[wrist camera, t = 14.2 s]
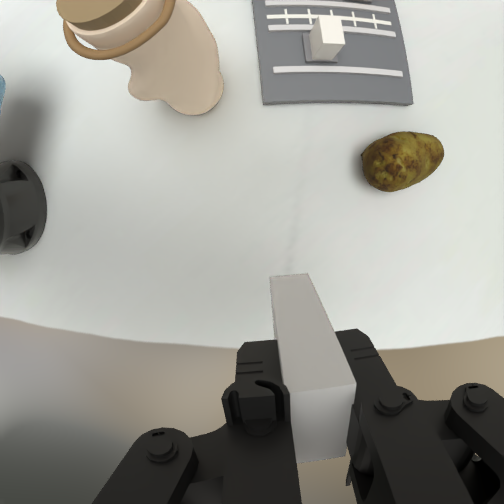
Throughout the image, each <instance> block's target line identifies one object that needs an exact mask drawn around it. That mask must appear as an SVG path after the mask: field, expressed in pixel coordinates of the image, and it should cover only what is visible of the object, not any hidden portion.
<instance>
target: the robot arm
mask: <svg viewBox="0 0 504 504" xmlns="http://www.w3.org/2000/svg"><path fill="white" fill-rule="evenodd" d="M5 89H6V84H5V80H4V78H3V77H2V76H1V75H0V108H1V104H2V100H3V96H4V93H5ZM0 114H1V110H0ZM45 221H46V199H45V194H44V190H43V187H42V184H41V182H40V180H39V178H38V176H37V174H36V173H35V172H34V170H33V169H32V168H31V167H30V166H29V165H27V164H26V163H24V162H21V161H6V162H2V163H0V254H10V255H13V254H19V253H22V252H24V251H26V250H28V249H30V248H31V247H33V246H34V245H35V244H36V243H37V241H38V240H39V238H40V237H41V234H42V232H43V229H44V226H45ZM270 288H271V301H272V313H273V326H274V339H275V340H266V341H254V342H244V344H243V345H242V346H241V348H240V349H239V350H238V352H237V362H236V363H237V365H236V376H235V382H234V383H232V384H231V385H230V386H229V387H228V388H227V389H226V390H225V391H224V394H223V396H222V398H221V399H222V404H223V408H224V413H225V417H226V422H227V423H226V424H224V425H223V426H222V427H221V428H219V429H217V430H216V431H213V432H210V433H207V434H204V435H199V436H195V437H191V438H189V437H188V436H187V435H186V434H185V433H184V432H182V431H179V430H177V429H174V428H159V429H153V430H151V431H148V432H146V433H144V434H142V435H141V436H140V437H139V438H138V439H137V440H136V441H135V442H134V444H133V445H132V447H131V448H130V449H129V451H128V452H127V454H126V455H125V457H124V458H123V460H122V461H121V462H120V464H119V465H118V467H117V468H116V470H115V471H114V472H113V474H112V475H111V477H110V479H109V480H108V481H107V483H106V484H105V485H104V487H103V488H102V490H101V491H100V493H99V494H98V496H97V497H96V498H95V500H94V501H93V503H92V504H302V502H301V494H300V487H299V478H298V470H297V463H304V462H311V461H319V460H325V459H331V458H337V457H343V456H345V454H346V449H347V447H348V450H349V454H350V457H351V460H350V465H349V469H348V473H347V477H346V486H349V485H350V483H351V481H352V485H353V489H354V493H355V497H356V501H357V504H504V398H503V397H502V396H500V395H499V394H498V393H496V392H495V391H494V390H493V389H491V388H489V387H487V386H486V385H483V384H478V383H466V384H464V385H461V386H459V387H458V388H456V389H455V390H454V391H453V393H452V396H451V398H450V400H442V401H440V400H439V401H424V400H418V399H417V398H416V396H415V395H414V394H413V393H412V392H411V391H409V390H407V389H405V388H403V387H400V386H397V385H396V384H395V382H394V380H393V378H392V377H391V375H390V373H389V371H388V369H387V368H386V366H385V364H384V362H383V361H382V359H381V357H380V356H379V354H378V352H377V350H376V349H375V348H374V345H373V344H372V342H371V340H370V338H369V337H368V336H367V335H366V334H364V333H363V332H361V331H360V330H358V329H351V330H344V331H337V332H334V330H333V327H332V325H331V323H330V321H329V318H328V316H327V314H326V312H325V309H324V307H323V305H322V303H321V301H320V298H319V296H318V294H317V292H316V290H315V287H314V285H313V283H312V281H311V279H310V277H309V274H308V273H306V274H296V275H285V276H275V277H270ZM475 453H476V454H477V455H478V456H479V457H478V456H477V455H475Z"/></svg>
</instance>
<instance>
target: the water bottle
mask: <svg viewBox="0 0 504 504" xmlns="http://www.w3.org/2000/svg"><path fill="white" fill-rule="evenodd" d="M56 6H57V11H58V13H59V15H60V16H61V17H62V18H63V19H64V20H63V30H64V35H65V39H66V41H67V44H68V45H69V47H70V48H71V49H72V50H73V51H74V52H75V53H77V54H78V55H80V56H82V57H85V58H88V59H93V60H107V59H112V60H114V61H116V62H119V63H122V64H125V65H127V66H129V67H130V69H131V78H130V81H129V83H128V90H129V93H130V94H131V95H132V96H133V97H135V98H136V99H139V100H142V101H150V100H163V101H165V102H166V103H167V104H169V105H170V106H171V107H172V108H173V109H175V110H176V111H178V112H180V113H182V114H186V115H200V114H203V113H205V112H207V111H209V110H210V109H212V108H213V107H214V106H215V105H216V104H217V102H218V101H219V100H220V98H221V96H222V93H223V87H224V83H223V78H222V75H221V73H220V71H219V56H218V48H217V44H216V41H215V39H214V37H213V35H212V33H211V32H210V30H209V28H208V26H207V25H206V23H205V21H204V19H203V17H202V16H201V14H200V13H199V11H198V10H197V9H196V8H195V7H194V6H193V5H192V4H191V3H190V2H188V1H187V0H57V2H56ZM74 33H75V34H76V35H77V36H79V37H80V38H82V39H83V40H85V41H86V42H88V43H89V44H91V45H92V46H94V47H95V48H96V49H98V50H94V49H90V48H87V47H85V46H84V45H82V44H81V43H80V42H79V41H78V40H77V39H76V37H75V34H74Z"/></svg>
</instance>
